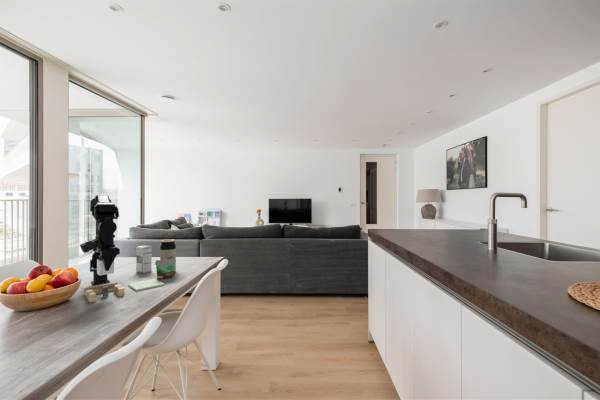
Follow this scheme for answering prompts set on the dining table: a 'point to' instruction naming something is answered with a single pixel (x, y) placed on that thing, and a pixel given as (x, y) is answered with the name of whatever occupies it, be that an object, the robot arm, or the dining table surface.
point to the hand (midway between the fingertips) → (105, 269)
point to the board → (145, 284)
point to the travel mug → (168, 250)
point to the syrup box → (143, 259)
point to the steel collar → (103, 268)
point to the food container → (165, 268)
